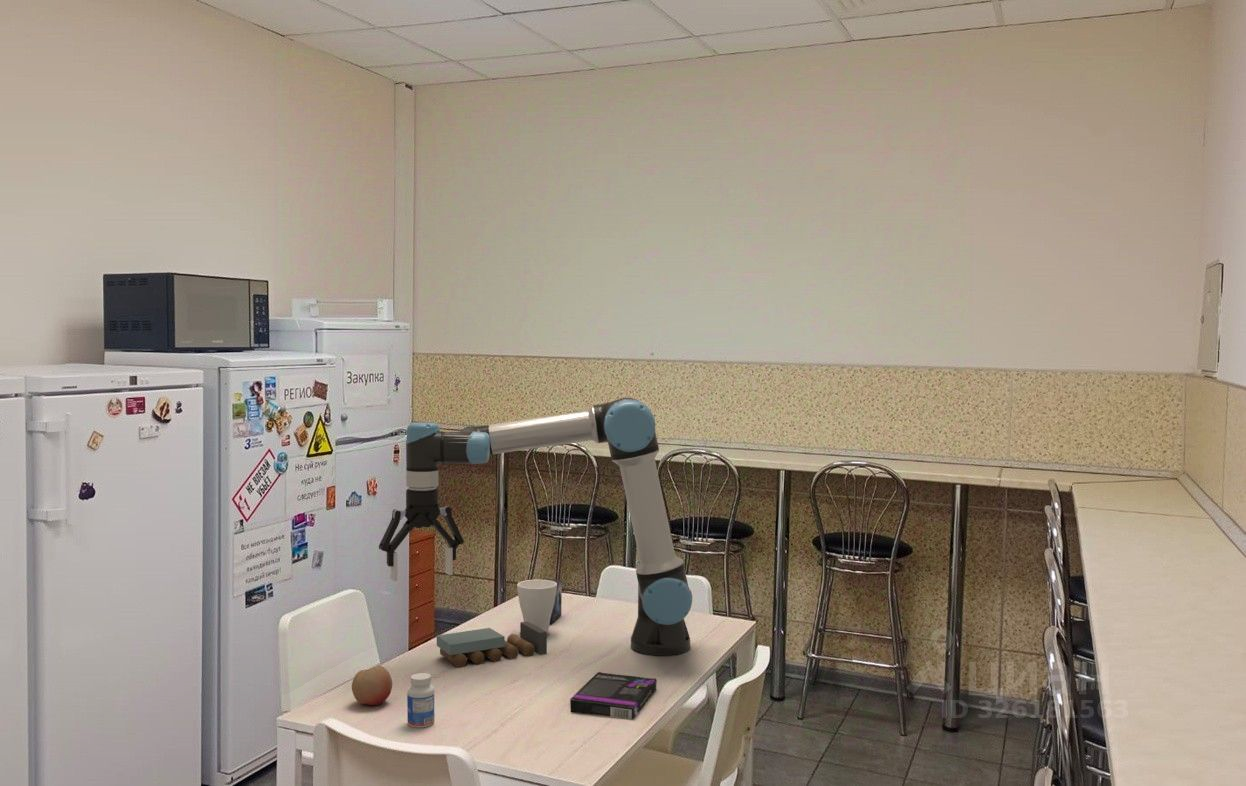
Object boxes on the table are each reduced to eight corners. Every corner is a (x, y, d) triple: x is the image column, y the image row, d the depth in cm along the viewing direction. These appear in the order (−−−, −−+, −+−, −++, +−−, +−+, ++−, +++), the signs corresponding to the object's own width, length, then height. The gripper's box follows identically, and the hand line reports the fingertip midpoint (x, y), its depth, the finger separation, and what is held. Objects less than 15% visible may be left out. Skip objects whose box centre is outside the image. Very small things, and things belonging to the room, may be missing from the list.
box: (633, 724, 212) (657, 691, 231) (633, 707, 212) (658, 676, 231) (569, 715, 216) (598, 684, 235) (569, 698, 216) (598, 669, 235)
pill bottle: (409, 718, 211) (409, 671, 211) (435, 718, 212) (435, 671, 211) (405, 728, 206) (405, 680, 206) (433, 728, 206) (433, 680, 206)
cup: (509, 637, 271) (510, 586, 270) (528, 627, 280) (528, 578, 280) (545, 641, 267) (546, 590, 266) (563, 631, 277) (563, 581, 276)
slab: (504, 646, 252) (504, 636, 252) (450, 655, 244) (450, 644, 244) (489, 637, 259) (489, 627, 259) (436, 645, 252) (436, 635, 252)
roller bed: (535, 654, 256) (535, 642, 255) (455, 668, 245) (455, 655, 245) (517, 644, 264) (517, 633, 264) (439, 657, 253) (439, 644, 253)
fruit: (371, 695, 226) (371, 659, 225) (399, 702, 221) (399, 665, 221) (344, 706, 219) (344, 668, 218) (372, 713, 215) (372, 675, 214)
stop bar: (546, 653, 257) (546, 631, 256) (539, 654, 256) (539, 632, 255) (527, 642, 266) (527, 621, 266) (520, 643, 265) (520, 622, 265)
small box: (552, 625, 283) (553, 587, 282) (529, 624, 284) (530, 586, 284) (562, 615, 293) (563, 578, 293) (540, 614, 294) (540, 577, 294)
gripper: (465, 483, 254) (465, 568, 255) (365, 489, 242) (365, 579, 243) (477, 486, 248) (476, 574, 249) (375, 493, 235) (374, 585, 236)
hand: (421, 577), depth 246 cm, fingers open, 13 cm apart
